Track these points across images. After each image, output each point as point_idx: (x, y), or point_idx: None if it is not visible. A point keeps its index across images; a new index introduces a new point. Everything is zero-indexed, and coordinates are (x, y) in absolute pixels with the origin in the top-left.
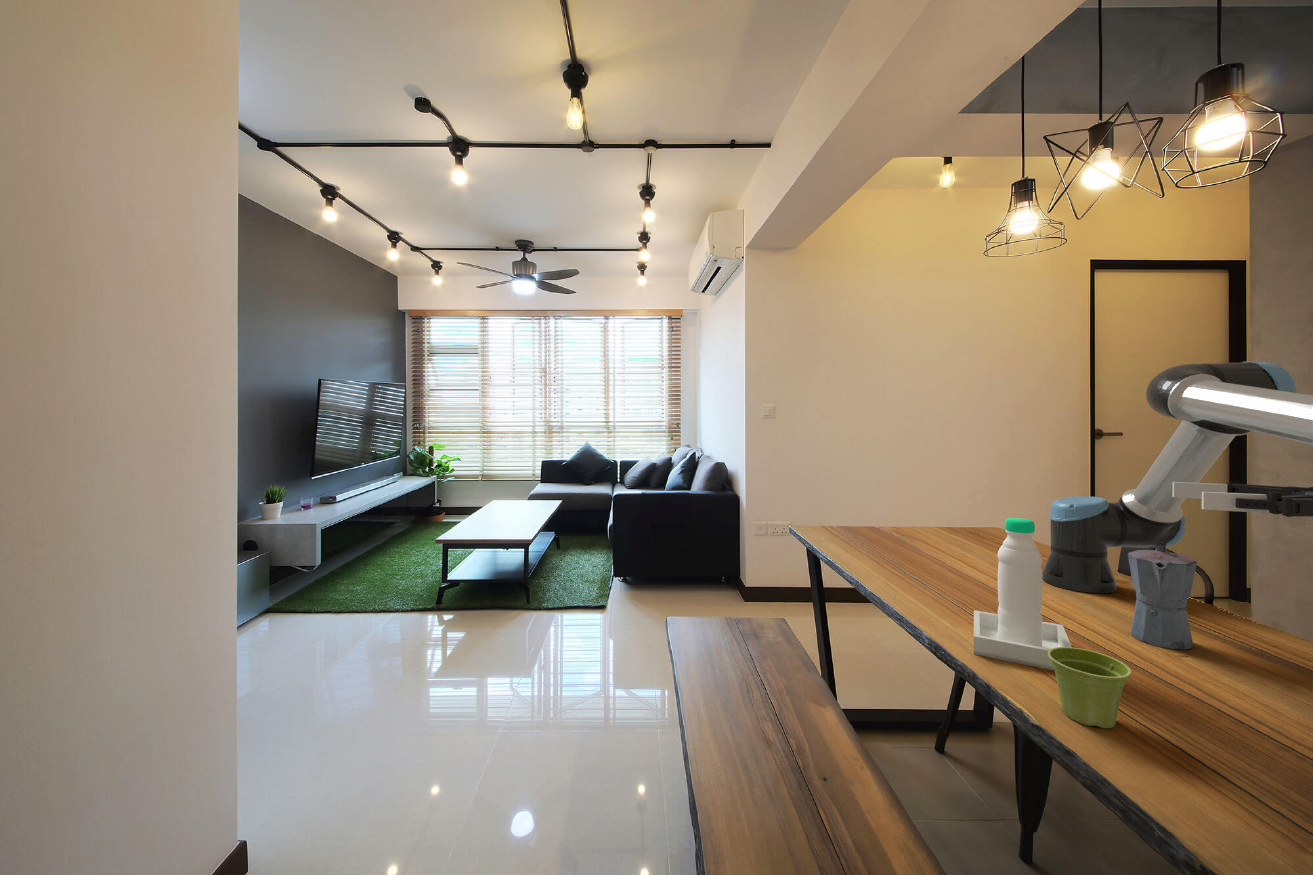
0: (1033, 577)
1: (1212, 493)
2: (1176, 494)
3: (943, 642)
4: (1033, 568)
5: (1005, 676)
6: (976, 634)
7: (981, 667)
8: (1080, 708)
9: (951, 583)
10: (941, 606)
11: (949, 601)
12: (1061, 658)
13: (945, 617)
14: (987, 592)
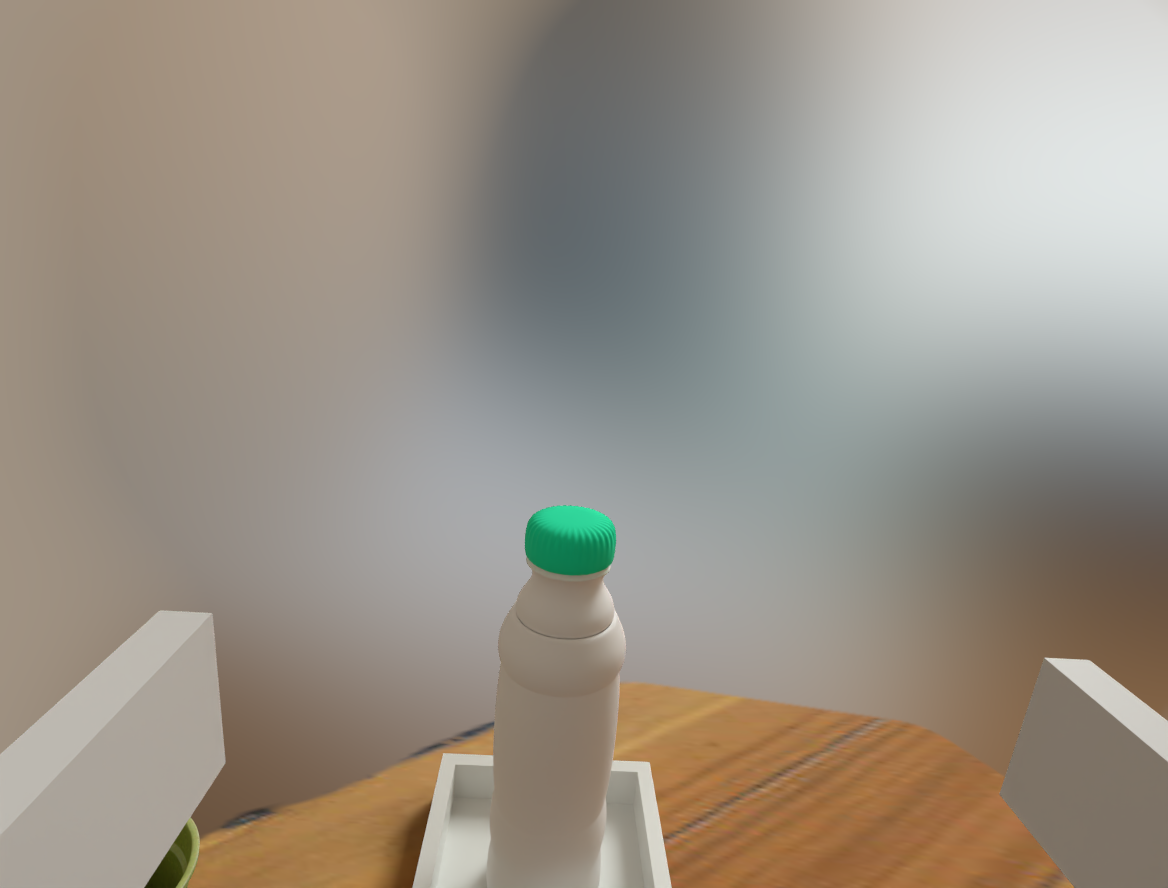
0: (506, 708)
1: (114, 654)
2: (1022, 784)
3: (486, 743)
4: (511, 682)
5: (327, 846)
6: (458, 758)
7: (365, 803)
8: None
9: (979, 764)
10: (742, 742)
11: (801, 757)
12: (184, 855)
13: (662, 748)
14: (1003, 847)
